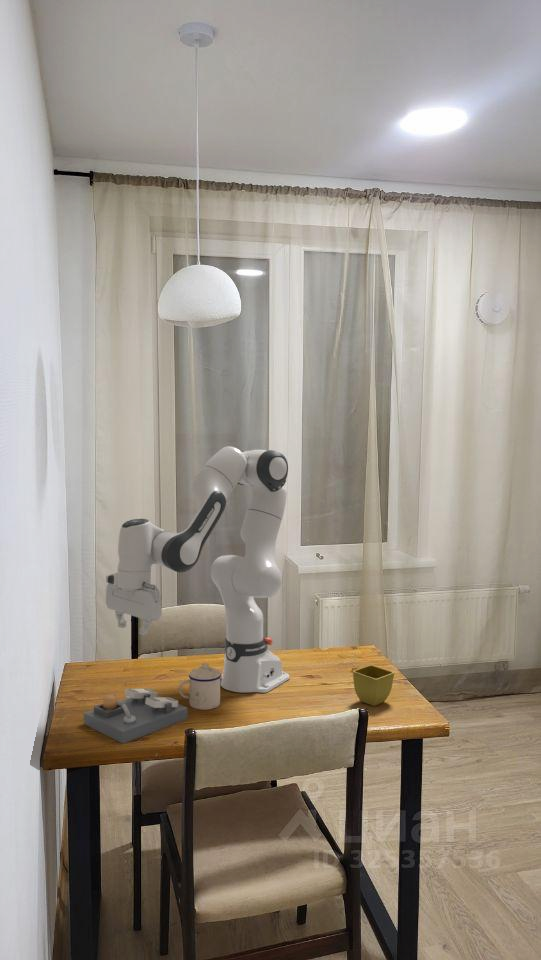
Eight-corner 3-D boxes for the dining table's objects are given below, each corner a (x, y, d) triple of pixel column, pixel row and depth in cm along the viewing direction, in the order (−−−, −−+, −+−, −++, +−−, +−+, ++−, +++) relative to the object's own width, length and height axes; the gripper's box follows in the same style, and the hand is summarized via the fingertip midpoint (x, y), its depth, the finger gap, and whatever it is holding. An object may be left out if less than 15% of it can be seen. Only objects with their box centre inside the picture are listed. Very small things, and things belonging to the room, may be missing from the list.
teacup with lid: (217, 697, 211) (218, 657, 210) (223, 709, 202) (224, 668, 202) (176, 700, 208) (176, 660, 207) (180, 712, 199) (180, 671, 199)
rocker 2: (167, 703, 198) (168, 696, 198) (177, 707, 195) (178, 700, 195) (144, 703, 192) (146, 696, 192) (154, 707, 189) (155, 701, 189)
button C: (111, 702, 194) (111, 693, 194) (119, 706, 192) (119, 697, 191) (100, 706, 191) (100, 697, 191) (108, 710, 189) (108, 701, 189)
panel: (145, 701, 207) (145, 673, 207) (187, 718, 195) (187, 689, 195) (81, 722, 192) (81, 692, 191) (123, 743, 180) (123, 711, 179)
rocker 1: (146, 694, 204) (148, 688, 204) (155, 698, 201) (157, 692, 201) (124, 694, 198) (125, 688, 198) (133, 698, 195) (134, 692, 195)
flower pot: (394, 702, 209) (395, 671, 208) (375, 710, 203) (376, 679, 202) (370, 694, 215) (370, 664, 215) (351, 701, 209) (351, 671, 209)
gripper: (168, 584, 190) (166, 636, 191) (121, 573, 204) (119, 621, 205) (149, 587, 186) (147, 641, 186) (102, 575, 199) (100, 625, 200)
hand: (132, 630), depth 196 cm, fingers open, 8 cm apart
